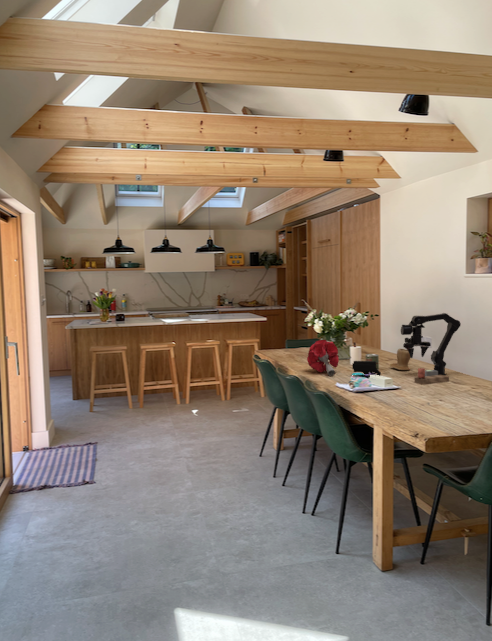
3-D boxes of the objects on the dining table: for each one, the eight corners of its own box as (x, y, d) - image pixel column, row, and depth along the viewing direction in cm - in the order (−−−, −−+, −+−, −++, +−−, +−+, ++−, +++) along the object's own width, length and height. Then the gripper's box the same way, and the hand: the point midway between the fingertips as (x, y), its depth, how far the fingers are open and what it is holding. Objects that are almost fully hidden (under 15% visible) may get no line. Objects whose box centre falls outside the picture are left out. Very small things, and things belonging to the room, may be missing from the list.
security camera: (380, 377, 337) (380, 362, 336) (352, 376, 341) (352, 362, 340) (380, 375, 344) (380, 360, 343) (352, 374, 348) (352, 360, 347)
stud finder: (434, 377, 334) (434, 369, 334) (437, 378, 330) (437, 370, 329) (422, 378, 333) (423, 370, 332) (426, 379, 328) (426, 371, 328)
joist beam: (440, 379, 327) (441, 374, 326) (448, 381, 320) (448, 376, 320) (414, 382, 319) (414, 377, 319) (422, 384, 313) (422, 379, 312)
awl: (421, 382, 319) (421, 368, 319) (426, 383, 316) (426, 369, 315) (416, 382, 318) (416, 368, 317) (421, 383, 314) (421, 369, 314)
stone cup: (414, 370, 358) (414, 349, 357) (399, 371, 356) (399, 350, 354) (403, 367, 373) (403, 347, 371) (388, 368, 370) (388, 347, 369)
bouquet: (345, 383, 352) (331, 356, 377) (349, 356, 339) (334, 330, 363) (315, 387, 349) (303, 360, 373) (318, 360, 336) (305, 334, 360)
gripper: (419, 332, 351) (419, 354, 353) (397, 334, 344) (397, 357, 345) (431, 334, 341) (431, 357, 342) (409, 335, 334) (409, 359, 335)
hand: (416, 357), depth 342 cm, fingers open, 9 cm apart
